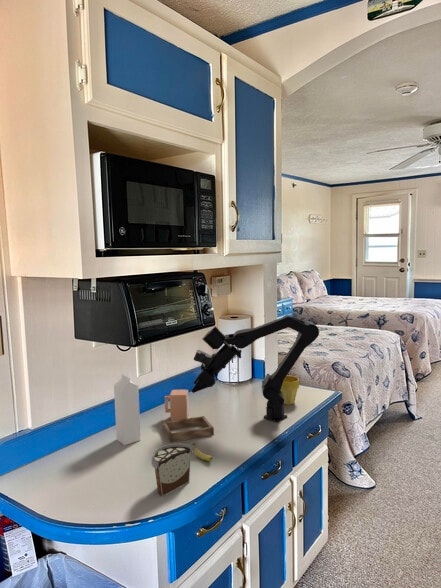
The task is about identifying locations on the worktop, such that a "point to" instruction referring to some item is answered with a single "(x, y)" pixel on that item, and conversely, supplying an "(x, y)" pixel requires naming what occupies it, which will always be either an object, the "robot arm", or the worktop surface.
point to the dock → (190, 433)
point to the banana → (202, 454)
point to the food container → (171, 467)
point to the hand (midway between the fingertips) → (193, 387)
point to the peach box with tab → (177, 404)
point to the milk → (127, 411)
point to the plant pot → (289, 389)
